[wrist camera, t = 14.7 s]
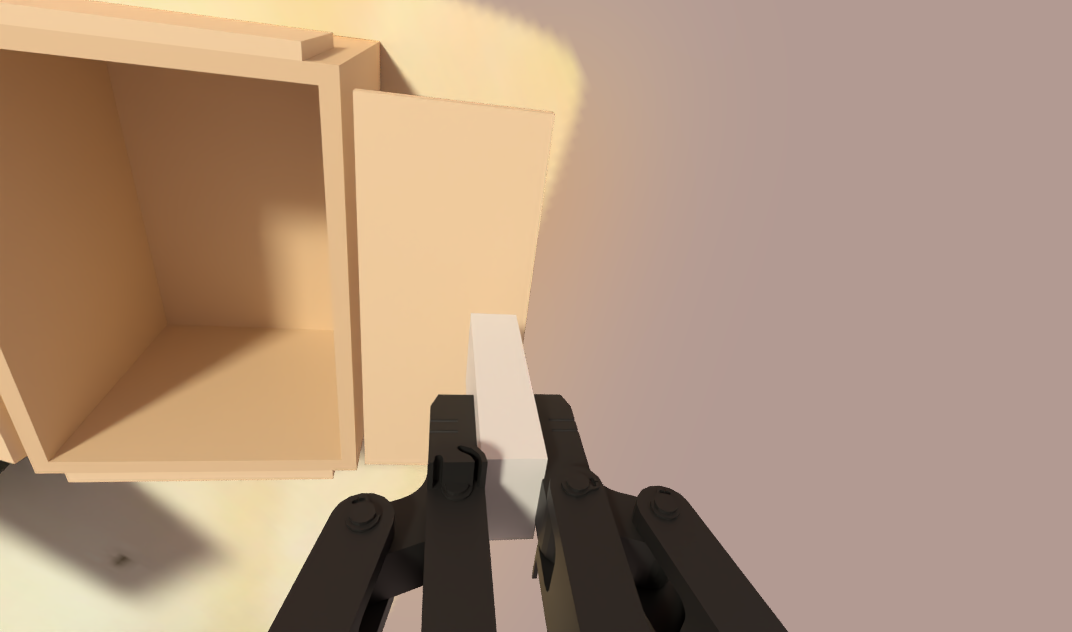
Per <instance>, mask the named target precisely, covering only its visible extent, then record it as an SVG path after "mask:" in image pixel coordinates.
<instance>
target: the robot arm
mask: <svg viewBox="0 0 1072 632" xmlns="http://www.w3.org/2000/svg"><path fill="white" fill-rule="evenodd" d="M577 430H578V429H577V426H576V423H575V421H574V416H573V413H572V409H571V406H570V405H569V404H568V403H567V402H566V401H565V399H564V398H563V397H562V396H561V395H543V394H533V389H532V385H531V380H530V376H529V371H528V367H527V362H526V357H525V353H524V349H523V344H522V339H521V334H520V330H519V325H518V321H517V316H516V315H508V314H483V313H471V316H470V329H469V343H468V356H467V369H466V395H447V394H438V396H437V397H436V399H435V400H434V402H433V403H432V405H431V406H430V427H429V451H428V471H427V477H426V480H425V482H424V483H423V485H422V486H421V487H420V488H419V489H418V490H417V491H416V492H414V493H413V494H411V495H409V496H407V497H404V498H402V499H398V500H395V501H392V502H389V501H388V500H387V499H386V498H385V497H383V496H380V495H377V494H374V493H361V494H358V495H354V496H351V497H348V498H347V499H345V500H344V501H342V502H340V503H339V504H338V505H337V507H336V508H335V509H334V510H333V512H332V513H331V515H330V517H329V519H328V521H327V522H326V524H325V526H324V528H323V530H322V532H321V534H320V536H319V537H318V539H317V541H316V543H315V545H314V547H313V549H312V550H311V552H310V554H309V556H308V558H307V560H306V562H305V564H304V565H303V567H302V569H301V571H300V573H299V575H298V577H297V579H296V580H295V582H294V584H293V586H292V588H291V590H290V592H289V593H288V595H287V597H286V599H285V601H284V603H283V605H282V607H281V608H280V610H279V612H278V614H277V616H276V618H275V620H274V621H273V623H272V625H271V627H270V629H269V631H268V632H382V631H383V628H384V625H385V622H386V619H387V616H388V614H389V611H390V608H391V605H392V602H393V599H394V596H397V595H399V594H402V593H405V592H407V591H410V590H412V589H415V588H418V587H421V586H423V602H422V603H423V604H422V629H421V632H496V619H495V606H494V594H493V582H492V571H491V570H492V569H491V557H490V544H489V540H512V539H533V536H534V531H535V525H536V531H537V537H538V545H537V550H536V555H535V561H534V566H533V573H532V578H537V574H538V575H539V581H540V588H541V594H542V601H543V607H544V614H545V620H546V626H547V632H788V631H787V630H786V628H785V627H784V626H783V625H782V623H781V622H780V621H779V619H778V618H777V617H776V615H775V614H774V613H773V612H772V610H771V609H770V608H769V606H768V605H767V604H766V602H764V600H763V599H762V597H761V596H760V595H759V593H758V592H757V591H756V589H755V588H754V587H753V586H752V584H751V583H750V582H749V580H748V579H747V578H746V576H745V575H744V574H743V573H742V571H741V570H740V569H739V567H738V566H737V565H736V563H735V562H734V561H733V560H732V558H731V557H730V556H729V554H728V553H727V552H726V550H725V549H724V548H723V547H722V545H721V544H720V543H719V541H718V540H717V539H716V538H715V536H714V535H713V534H712V532H711V531H710V530H709V528H708V527H707V526H706V525H705V523H704V522H703V521H702V519H701V518H700V517H699V515H698V514H697V513H696V512H695V510H694V509H693V508H692V506H691V505H690V504H689V503H688V501H687V500H686V499H685V498H684V497H683V496H682V495H680V494H679V493H677V492H675V491H674V490H672V489H670V488H666V487H662V486H650V487H647V488H645V489H643V490H642V491H641V492H640V494H639V495H638V497H635V496H632V495H627V494H623V493H619V492H616V491H613V490H611V489H609V488H607V487H605V486H603V484H602V482H601V481H600V479H599V477H598V476H596V475H595V474H594V473H593V472H592V471H590V469H589V465H588V462H587V459H586V455H585V452H584V449H583V446H582V442H581V439H580V436H579V433H578V431H577Z"/></svg>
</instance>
